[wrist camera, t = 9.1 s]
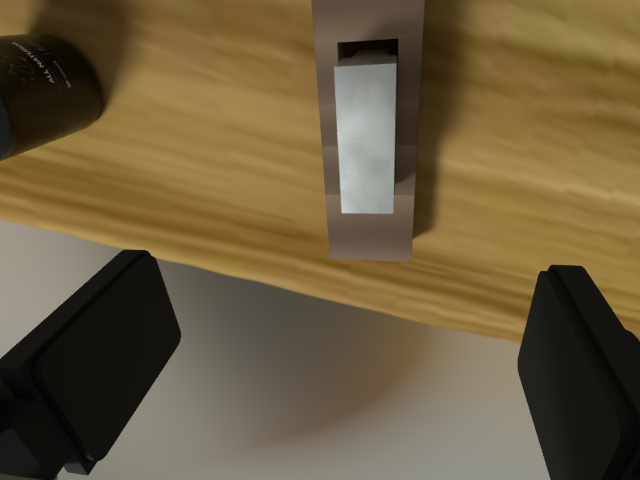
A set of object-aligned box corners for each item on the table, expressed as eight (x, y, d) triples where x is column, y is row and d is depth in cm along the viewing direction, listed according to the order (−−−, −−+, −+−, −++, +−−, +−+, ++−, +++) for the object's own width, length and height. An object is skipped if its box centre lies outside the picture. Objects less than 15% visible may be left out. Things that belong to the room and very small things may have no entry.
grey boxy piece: (349, 51, 25) (333, 67, 19) (397, 48, 25) (396, 63, 19) (353, 170, 29) (341, 213, 23) (395, 169, 29) (393, 213, 23)
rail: (317, -65, 23) (306, -73, 20) (426, -78, 21) (429, -88, 19) (335, 238, 33) (330, 258, 30) (410, 240, 32) (411, 261, 29)
